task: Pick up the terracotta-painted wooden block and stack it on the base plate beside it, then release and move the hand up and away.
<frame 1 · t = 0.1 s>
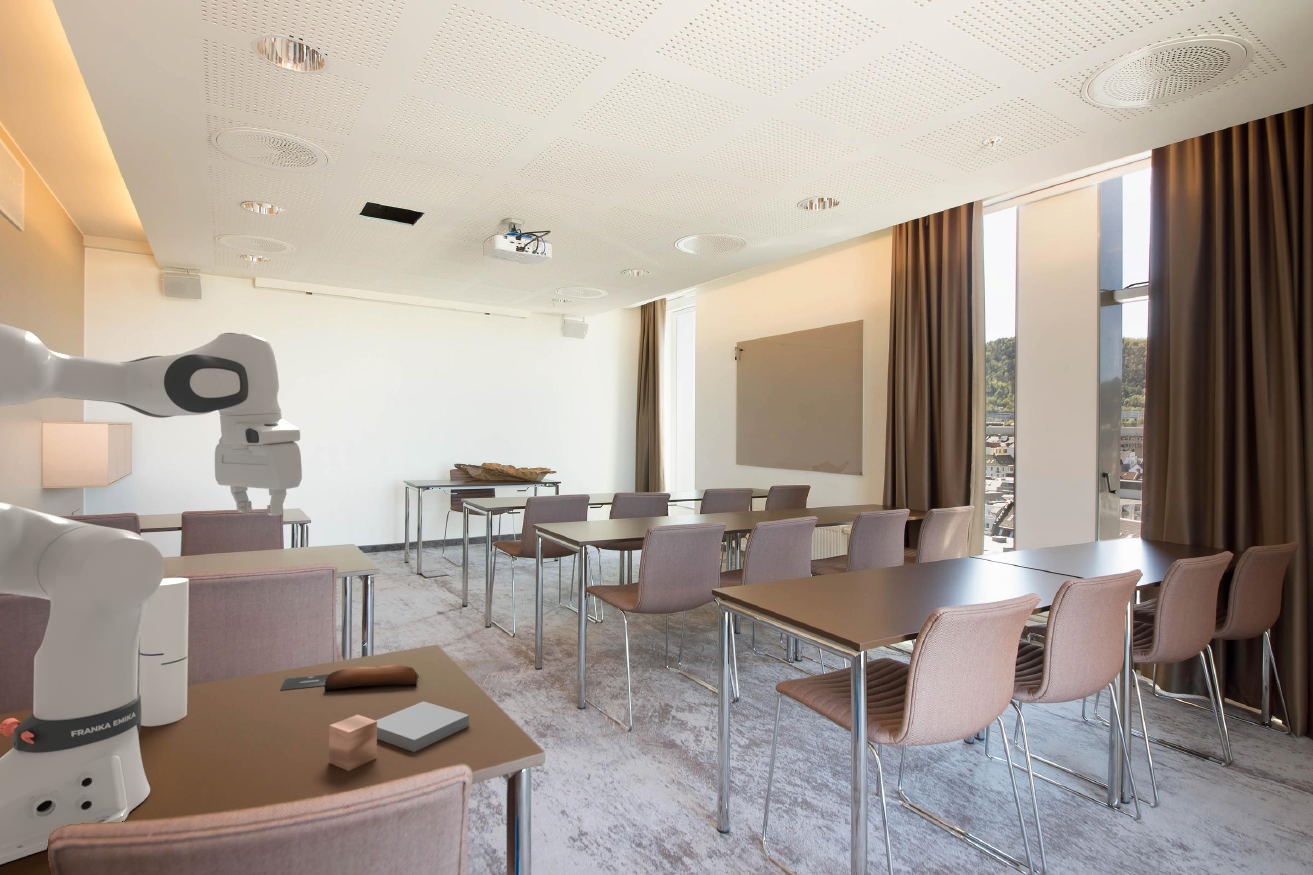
hand: (259, 513, 113), 39 cm above the table, tool pointing down, fingers open, 8 cm apart
slate base: (419, 730, 119), on the table
terracotta block: (352, 760, 108), on the table
solid state drive: (309, 685, 142), on the table
cylindrical container: (163, 719, 123), on the table
sunglasses case: (374, 685, 142), on the table
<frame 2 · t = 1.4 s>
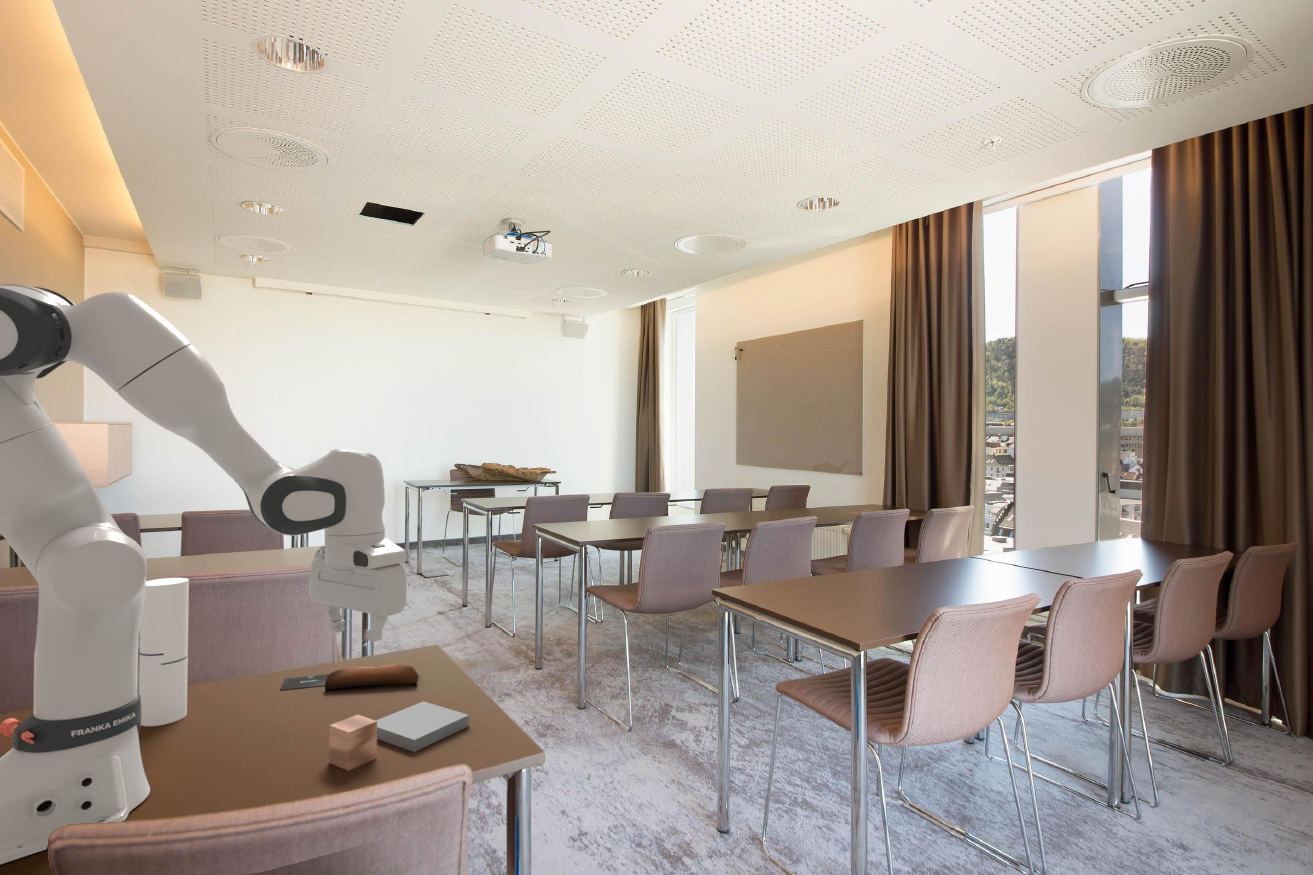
hand: (355, 635, 108), 20 cm above the table, tool pointing down, fingers open, 8 cm apart
nothing on the table moved.
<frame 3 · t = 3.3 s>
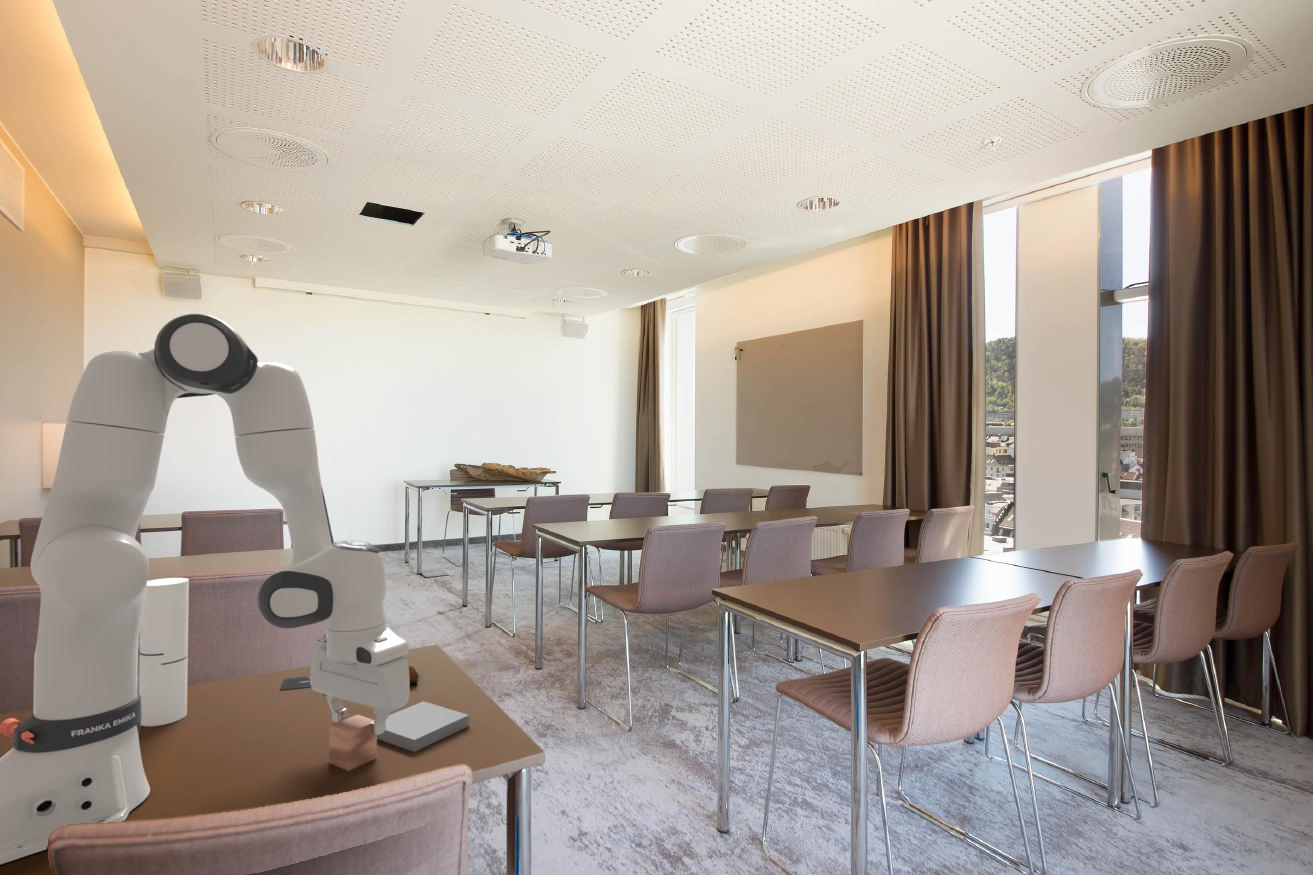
hand: (358, 726, 109), 5 cm above the table, tool pointing down, fingers open, 8 cm apart
solid state drive: (308, 685, 142), on the table, touching sunglasses case
sunglasses case: (375, 684, 143), on the table, touching solid state drive
everything else where it was.
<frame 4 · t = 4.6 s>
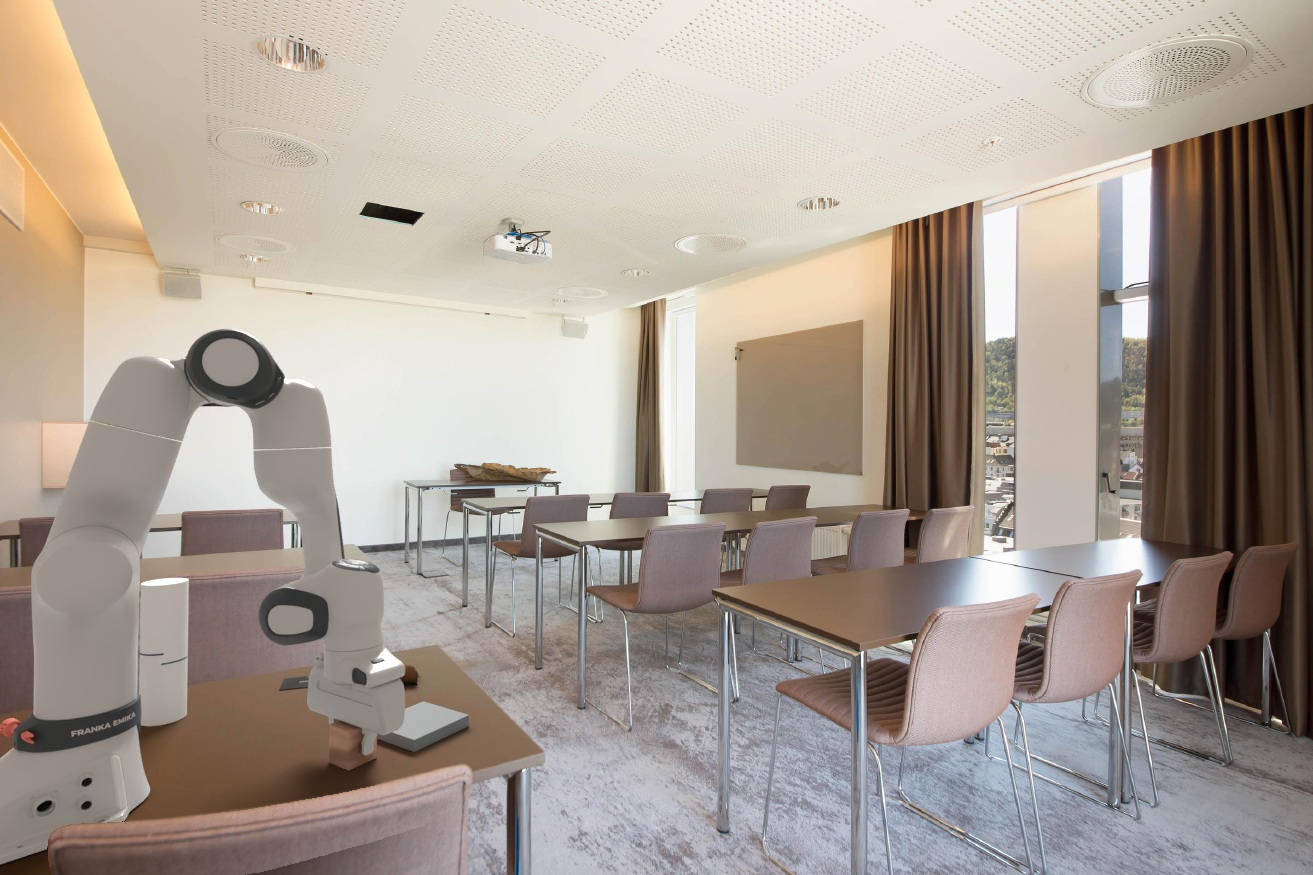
hand: (353, 748, 108), 2 cm above the table, tool pointing down, fingers closed on terracotta block, 5 cm apart
terracotta block: (353, 760, 108), on the table, touching gripper
solid state drive: (308, 685, 142), on the table
sunglasses case: (375, 684, 143), on the table
everything else where it was.
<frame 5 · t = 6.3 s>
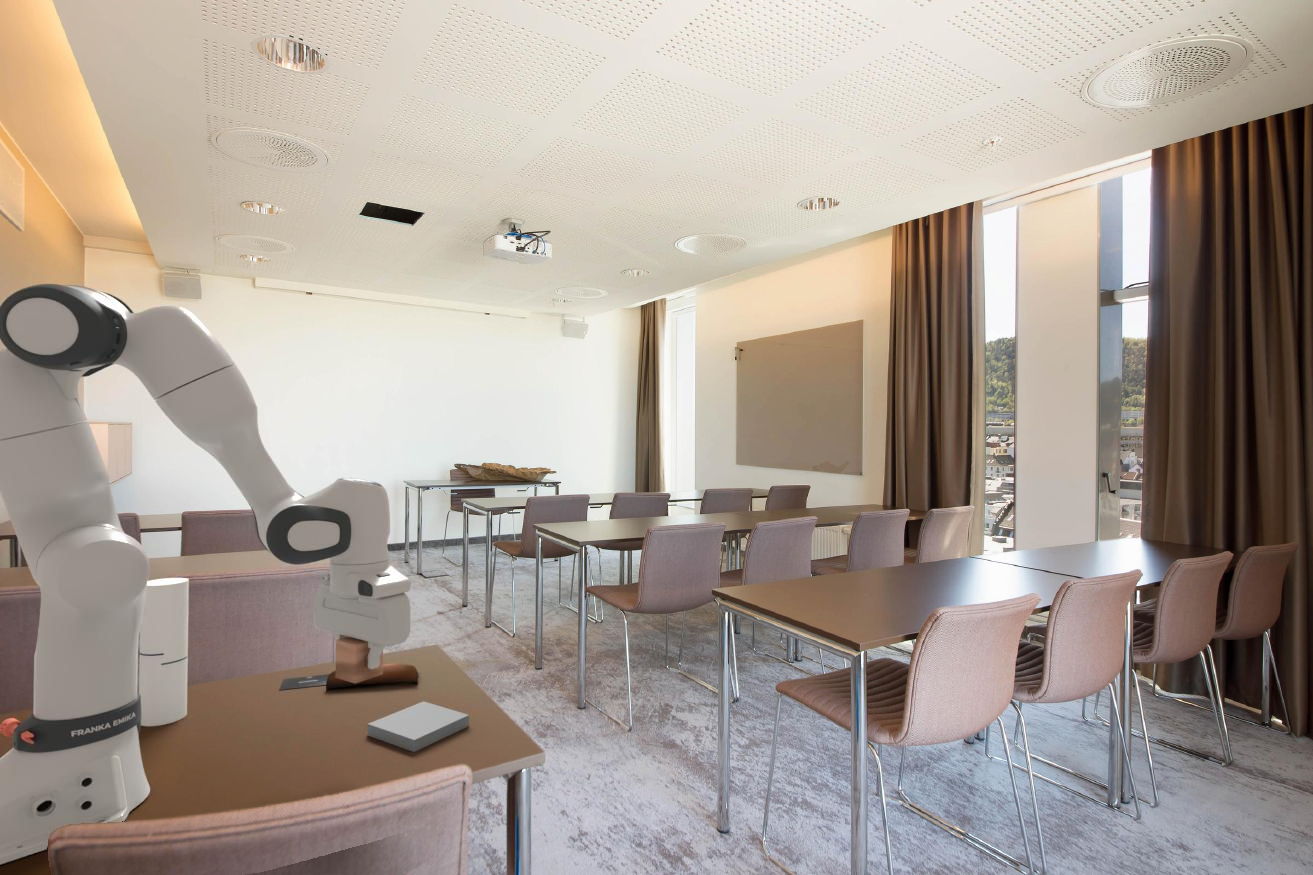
hand: (359, 664, 108), 15 cm above the table, tool pointing down, fingers closed on terracotta block, 5 cm apart
terracotta block: (359, 675, 108), point 13 cm above the table, touching gripper
solid state drive: (308, 685, 142), on the table, touching sunglasses case
sunglasses case: (375, 683, 143), on the table, touching solid state drive
everything else where it was.
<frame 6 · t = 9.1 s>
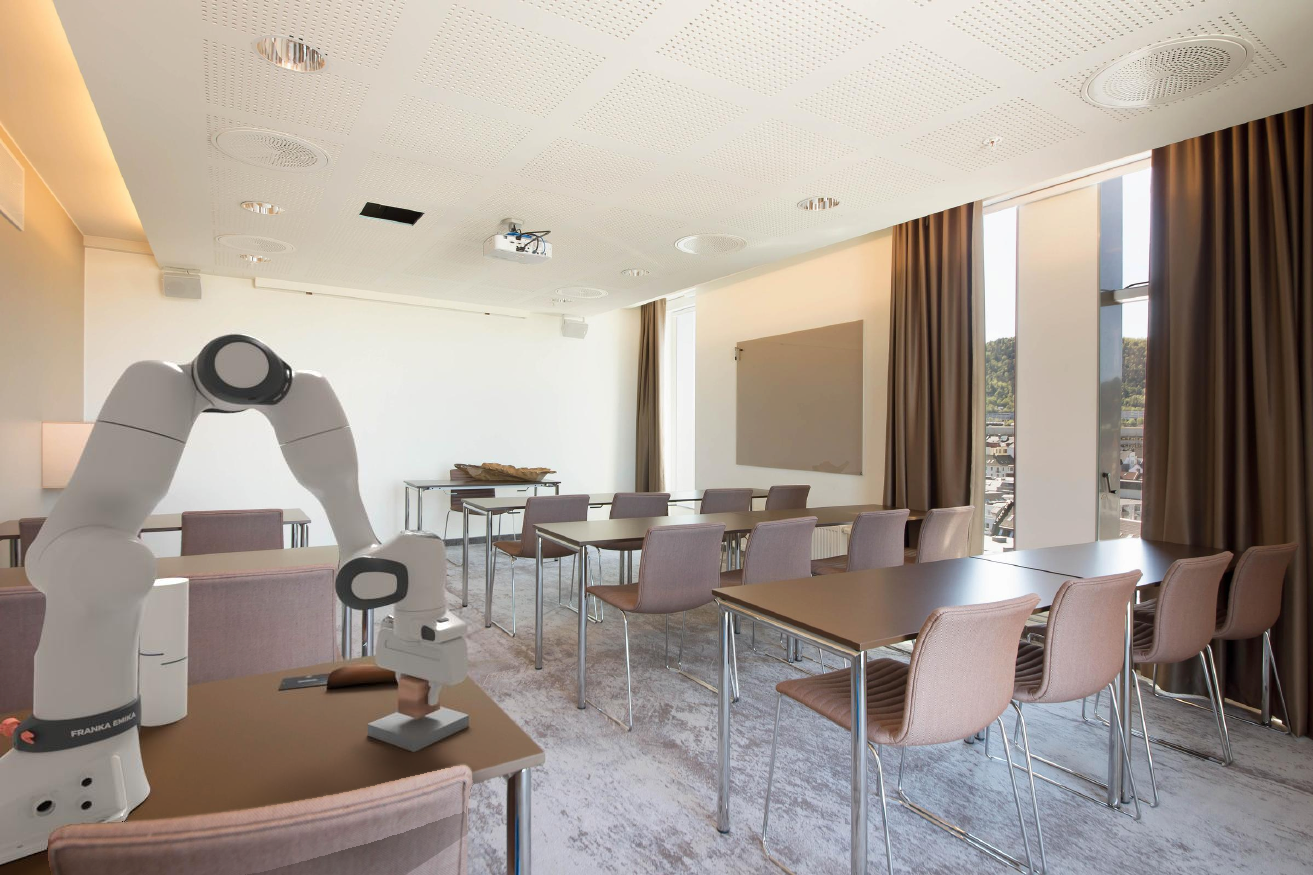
hand: (419, 700, 119), 5 cm above the table, tool pointing down, fingers closed on terracotta block, 5 cm apart
terracotta block: (419, 710, 119), point 3 cm above the table, touching gripper
solid state drive: (307, 684, 142), on the table
sunglasses case: (376, 682, 144), on the table
everything else where it was.
when the fingers open (5 cm above the table, at t = 9.2 s): terracotta block drops 1 cm, resting on slate base.
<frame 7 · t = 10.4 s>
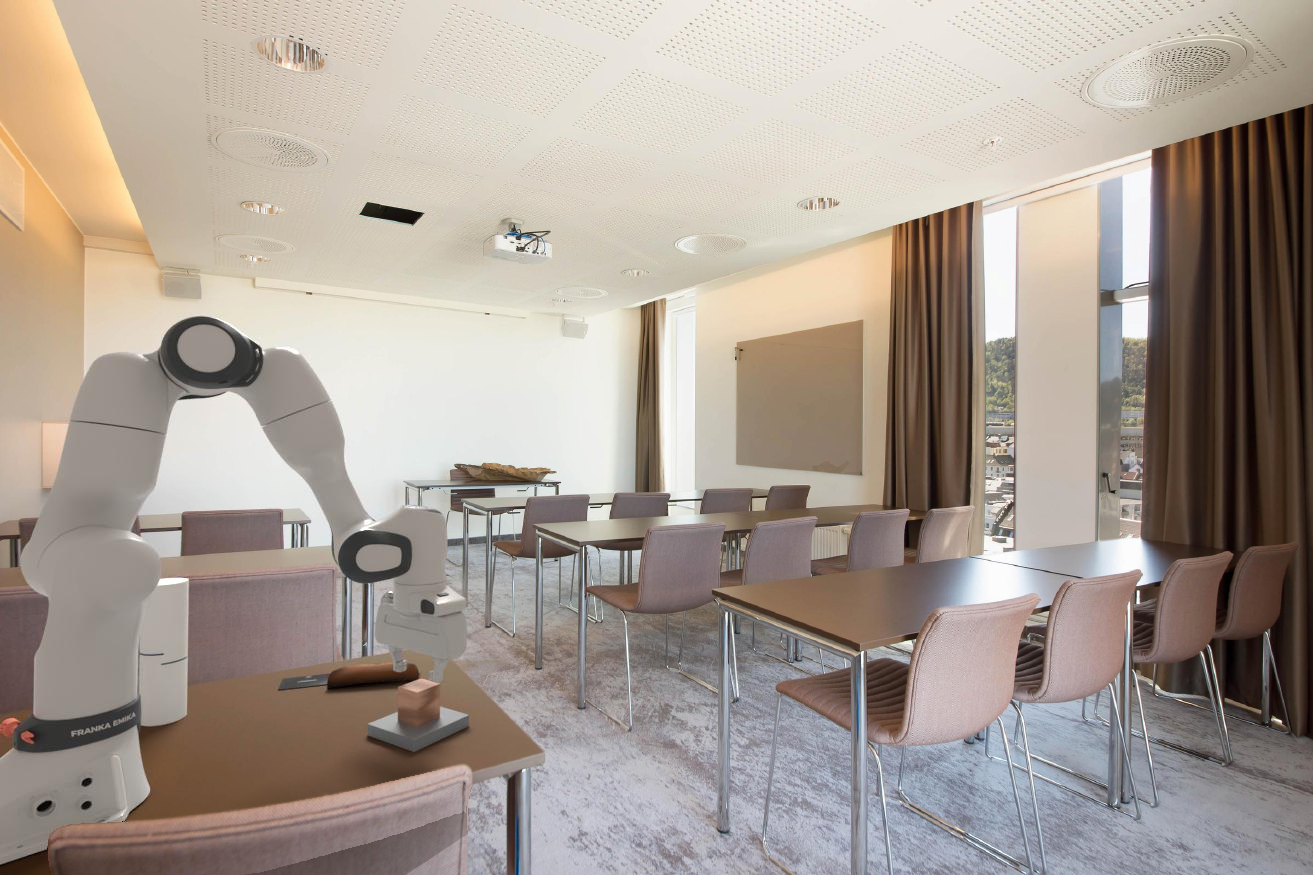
hand: (417, 675, 118), 10 cm above the table, tool pointing down, fingers open, 8 cm apart
terracotta block: (418, 719, 119), point 2 cm above the table, touching slate base
solid state drive: (307, 685, 142), on the table, touching sunglasses case
sunglasses case: (376, 682, 144), on the table, touching solid state drive
everything else where it was.
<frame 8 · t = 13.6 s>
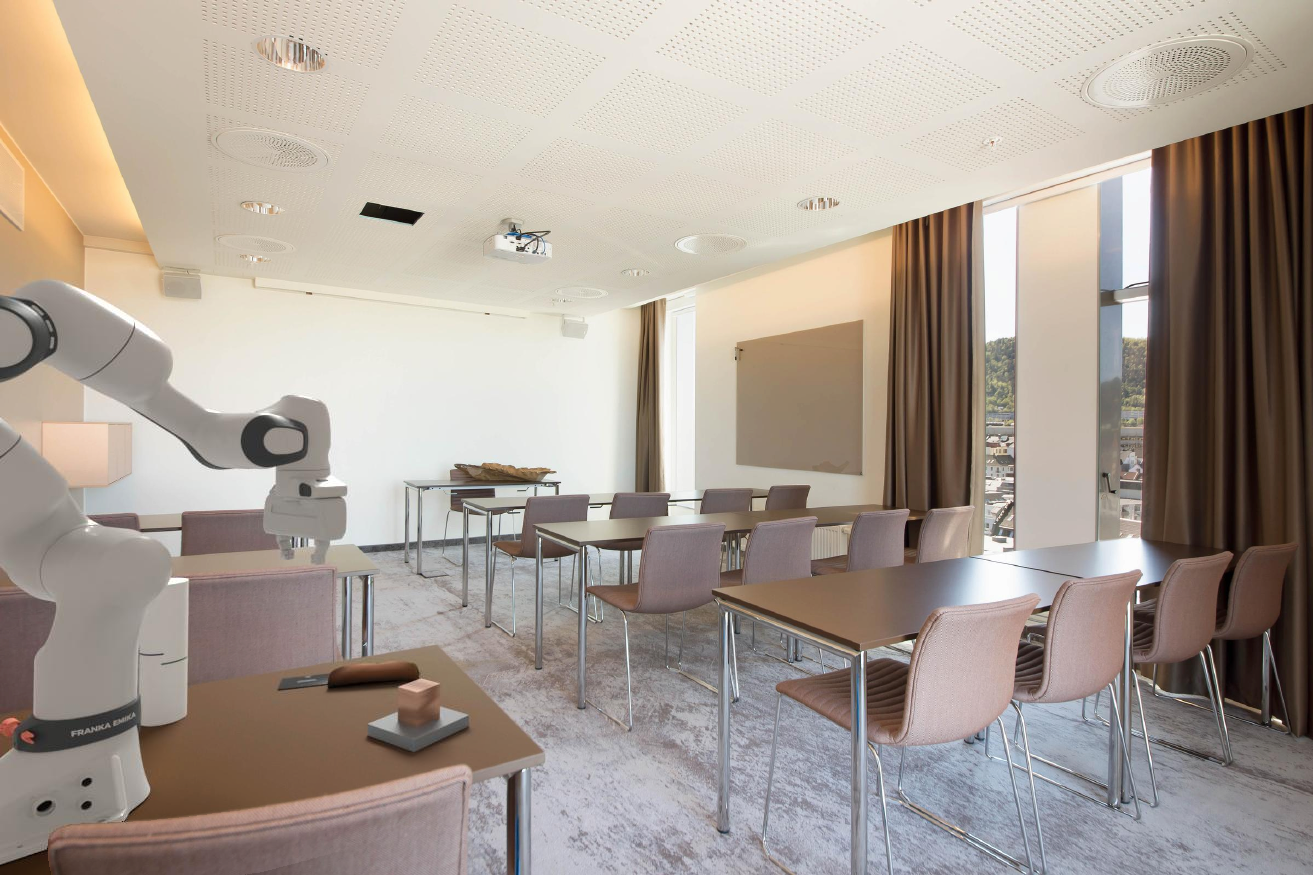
hand: (302, 561, 122), 29 cm above the table, tool pointing down, fingers open, 8 cm apart
solid state drive: (306, 684, 142), on the table
sunglasses case: (376, 681, 144), on the table
everything else where it was.
at the end: terracotta block inside the target area on the slate base (0.1 cm from its centre), point 2.0 cm above the slate base's base; terracotta block tilted 0°; the gripper is holding nothing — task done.
